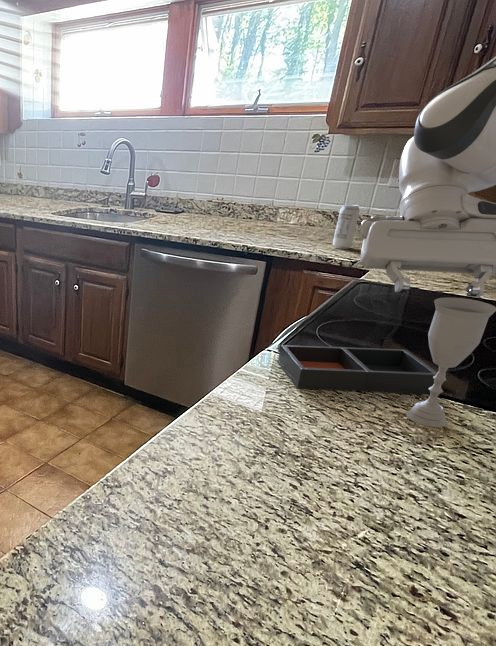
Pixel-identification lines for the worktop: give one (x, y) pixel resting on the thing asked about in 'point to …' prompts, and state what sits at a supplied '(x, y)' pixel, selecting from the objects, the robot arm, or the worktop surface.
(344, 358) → the tray
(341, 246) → the energy drink can
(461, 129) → the robot arm
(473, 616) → the worktop surface
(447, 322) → the chalice
